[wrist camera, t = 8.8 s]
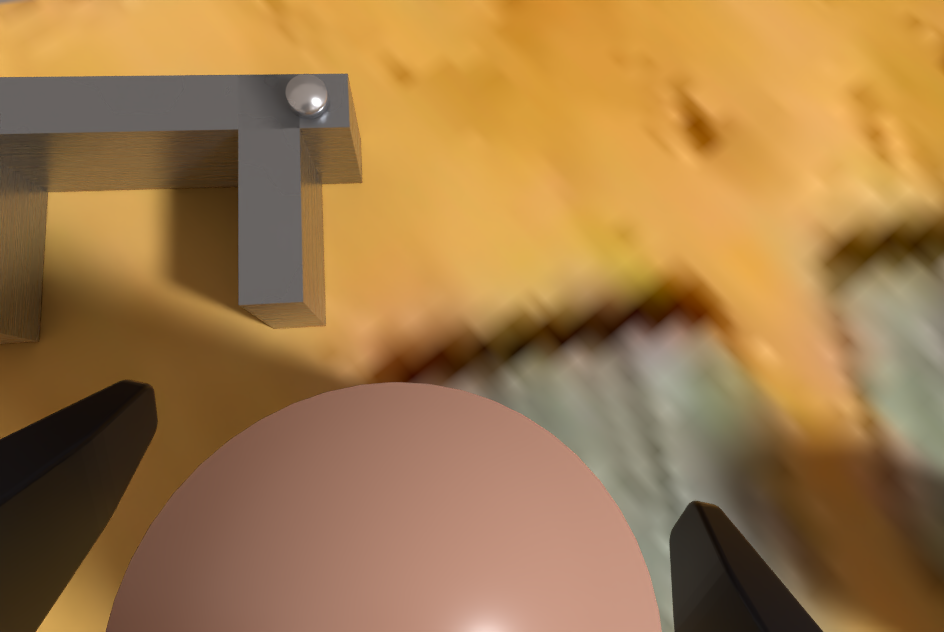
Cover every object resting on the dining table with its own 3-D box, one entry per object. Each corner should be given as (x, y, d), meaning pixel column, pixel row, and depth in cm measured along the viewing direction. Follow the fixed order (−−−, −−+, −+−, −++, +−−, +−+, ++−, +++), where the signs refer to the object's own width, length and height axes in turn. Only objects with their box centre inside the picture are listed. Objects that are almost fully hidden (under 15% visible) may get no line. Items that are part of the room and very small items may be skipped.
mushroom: (470, 601, 16) (606, 1056, 5) (303, 561, 16) (0, 930, 4) (509, 432, 17) (704, 452, 6) (352, 392, 17) (209, 325, 5)
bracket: (367, 323, 17) (354, 295, 14) (-67, 347, 16) (-215, 323, 12) (360, 138, 19) (345, 64, 15) (-48, 147, 17) (-180, 69, 13)
